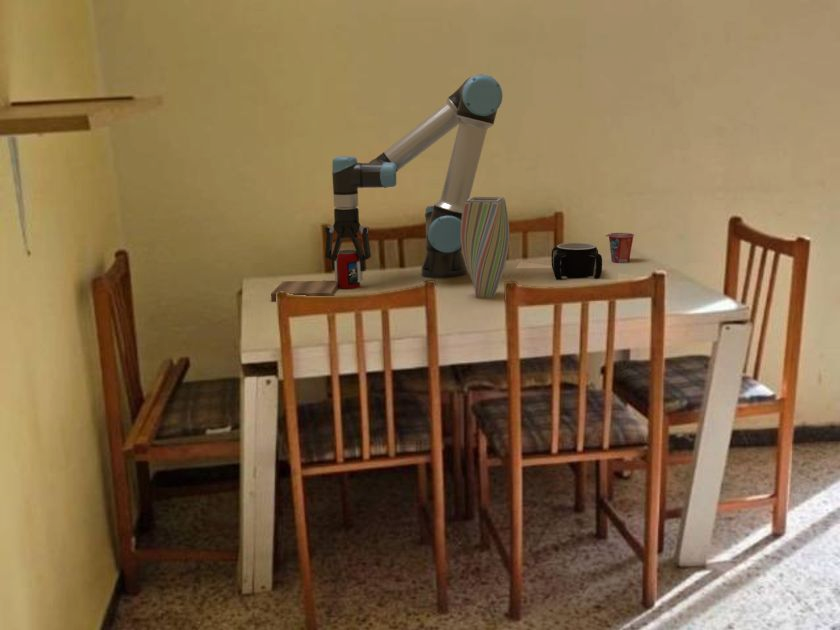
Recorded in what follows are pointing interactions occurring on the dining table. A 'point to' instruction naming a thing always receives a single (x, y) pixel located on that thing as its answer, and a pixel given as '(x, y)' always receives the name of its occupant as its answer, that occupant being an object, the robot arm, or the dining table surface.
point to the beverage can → (348, 269)
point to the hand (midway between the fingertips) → (349, 280)
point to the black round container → (576, 261)
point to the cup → (620, 246)
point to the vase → (485, 242)
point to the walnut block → (307, 288)
